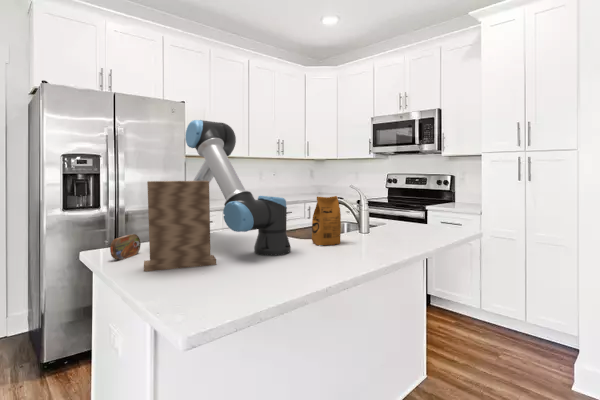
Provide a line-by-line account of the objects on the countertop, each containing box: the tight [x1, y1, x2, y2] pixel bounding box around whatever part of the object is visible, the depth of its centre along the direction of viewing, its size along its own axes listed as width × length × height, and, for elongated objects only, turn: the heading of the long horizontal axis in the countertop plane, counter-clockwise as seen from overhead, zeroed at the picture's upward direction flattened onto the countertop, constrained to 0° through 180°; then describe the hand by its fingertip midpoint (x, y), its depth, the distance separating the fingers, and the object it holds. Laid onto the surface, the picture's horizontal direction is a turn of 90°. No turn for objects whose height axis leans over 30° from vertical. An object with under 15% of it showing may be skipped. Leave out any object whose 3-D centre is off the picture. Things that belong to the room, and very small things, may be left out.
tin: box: [109, 233, 141, 261], centre depth 142 cm, size 15×3×8 cm, turn 168°
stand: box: [143, 180, 217, 272], centre depth 129 cm, size 24×7×30 cm, turn 112°
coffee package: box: [311, 195, 342, 246], centre depth 168 cm, size 10×12×22 cm
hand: (176, 222), depth 150 cm, fingers open, 13 cm apart
